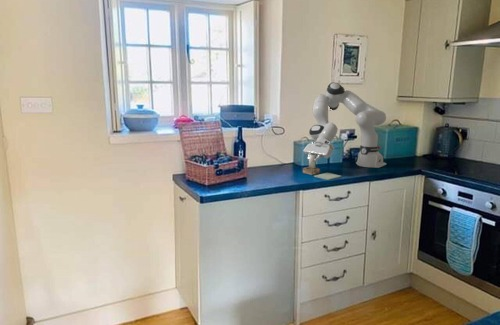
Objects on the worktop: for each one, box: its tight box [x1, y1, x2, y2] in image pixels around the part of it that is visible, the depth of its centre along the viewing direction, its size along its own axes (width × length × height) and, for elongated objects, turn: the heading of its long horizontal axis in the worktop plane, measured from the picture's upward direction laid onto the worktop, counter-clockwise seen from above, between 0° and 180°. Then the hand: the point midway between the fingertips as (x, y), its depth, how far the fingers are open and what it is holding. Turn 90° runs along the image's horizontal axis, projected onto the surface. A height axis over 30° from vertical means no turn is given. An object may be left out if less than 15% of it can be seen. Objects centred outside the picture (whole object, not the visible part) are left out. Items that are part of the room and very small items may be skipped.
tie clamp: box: [302, 166, 321, 176], centre depth 240 cm, size 8×9×3 cm
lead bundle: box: [308, 154, 317, 169], centre depth 237 cm, size 4×4×9 cm
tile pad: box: [313, 172, 342, 181], centre depth 230 cm, size 13×11×1 cm
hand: (311, 160), depth 237 cm, fingers closed on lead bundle, 4 cm apart
